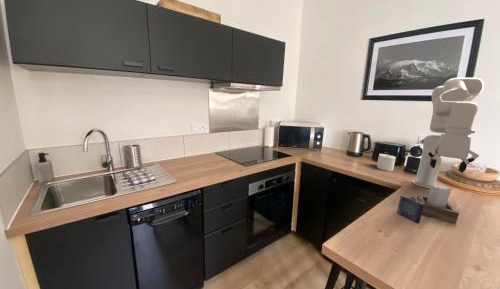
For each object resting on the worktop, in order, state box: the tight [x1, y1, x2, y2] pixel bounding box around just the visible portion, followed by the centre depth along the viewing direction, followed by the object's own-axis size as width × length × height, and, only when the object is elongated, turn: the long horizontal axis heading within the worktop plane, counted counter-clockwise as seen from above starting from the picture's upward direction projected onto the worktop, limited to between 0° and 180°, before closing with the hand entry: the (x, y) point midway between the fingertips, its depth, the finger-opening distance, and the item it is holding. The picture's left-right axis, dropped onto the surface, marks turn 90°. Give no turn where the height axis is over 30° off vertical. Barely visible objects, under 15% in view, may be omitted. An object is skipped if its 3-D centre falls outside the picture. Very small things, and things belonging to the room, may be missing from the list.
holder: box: [416, 194, 460, 224], centre depth 97 cm, size 12×12×5 cm
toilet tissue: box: [376, 153, 397, 172], centre depth 159 cm, size 11×12×10 cm
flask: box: [396, 194, 424, 224], centre depth 92 cm, size 9×3×11 cm, turn 24°
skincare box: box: [426, 184, 452, 209], centre depth 96 cm, size 6×4×12 cm
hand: (446, 169), depth 93 cm, fingers open, 9 cm apart
